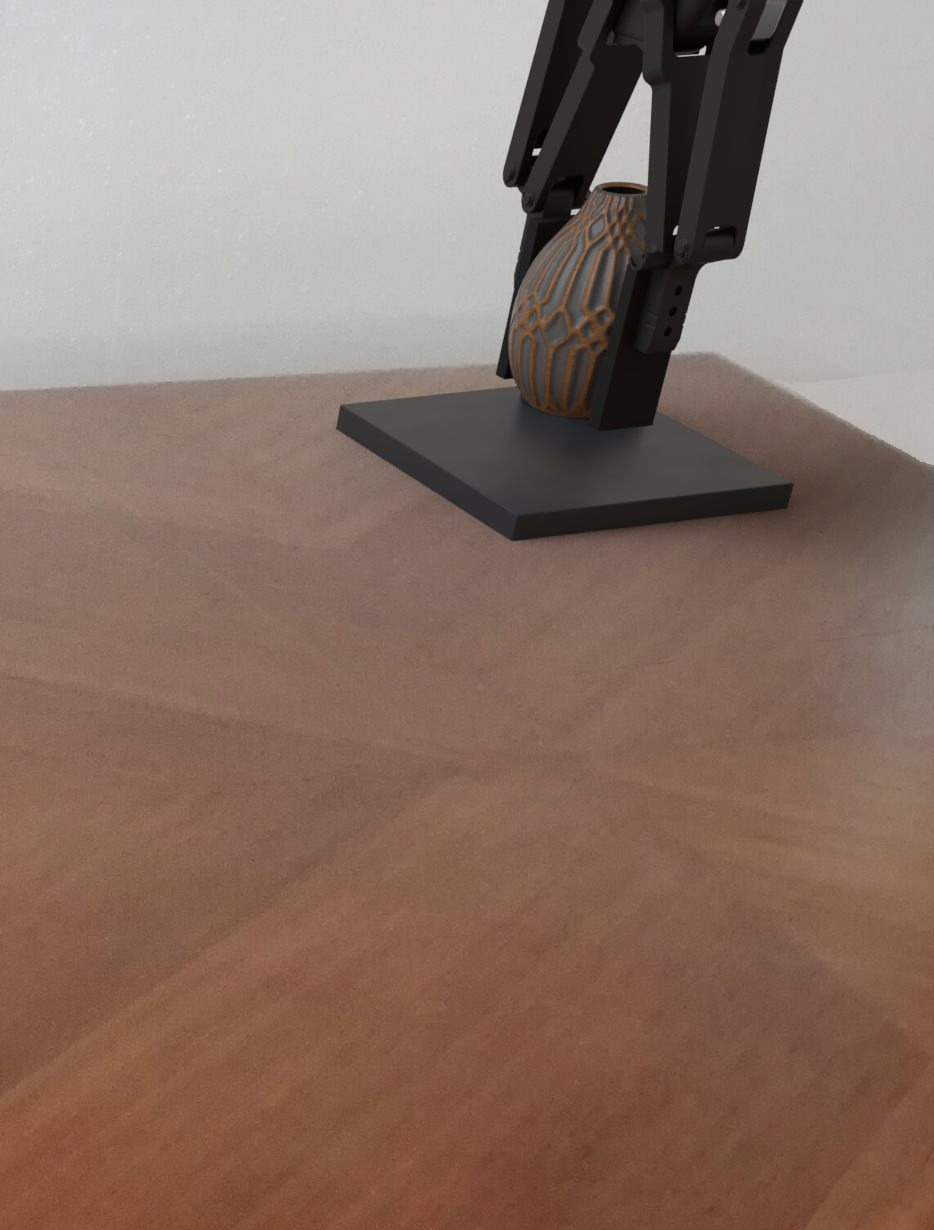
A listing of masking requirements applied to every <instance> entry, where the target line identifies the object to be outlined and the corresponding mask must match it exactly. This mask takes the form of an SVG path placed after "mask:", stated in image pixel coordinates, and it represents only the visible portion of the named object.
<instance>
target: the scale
mask: <svg viewBox="0 0 934 1230" xmlns="http://www.w3.org/2000/svg"><path fill="white" fill-rule="evenodd" d="M589 421H590V418H569V417H562V416H556V415H552V414H548V413H544V412H542V411H539V410H537V409H535V408H533V407H532V406H530V405H529V403H528V402H527V401H526V399H525V398H524V397H523V395H522V393H521V392H520V390H519V389H518V387H517V385H516V386H514V385H513V386H506V387H496V388H485V389H478V390H467V391H457V392H449V393H439V394H429V395H428V394H427V395H420V396H419V395H418V396H411V397H410V396H409V397H400V398H389V399H382V400H371V401H361V402H354V403H353V402H352V403H342V404H340V405H339V411H338V416H337V421H336V427H335V430H337V431H338V432H340V433H342V434H343V435H344V436H346V437H348V438H350V439H351V440H353V441H354V442H356V443H357V444H359V445H360V446H362V447H364V448H365V449H366V450H368V451H370V452H372V454H374V455H376V456H377V457H379V458H380V459H382V460H384V461H385V462H387V463H389V464H390V465H392V466H393V467H395V468H397V469H398V470H399V471H401V472H402V473H404V474H406V475H407V476H409V477H410V478H412V479H413V480H415V481H416V482H418V483H420V484H422V485H423V486H425V487H426V488H428V489H430V490H431V491H432V492H434V493H435V494H437V495H438V496H440V497H441V498H443V499H445V500H446V501H448V502H449V503H451V504H453V505H454V506H456V507H457V508H459V509H461V510H462V511H464V512H465V513H467V514H469V516H471V517H473V518H475V519H476V520H477V521H479V522H481V523H482V524H484V525H486V526H487V527H489V529H492V530H493V531H495V532H496V533H498V534H499V535H501V536H503V537H504V538H506V539H507V540H509V541H510V542H515V541H524V540H532V539H543V538H549V537H557V536H559V537H560V536H566V535H575V534H584V533H585V534H586V533H593V532H600V531H610V530H616V529H624V528H626V529H627V528H635V527H642V526H643V527H644V526H652V525H660V524H661V525H662V524H669V523H676V522H685V521H693V520H701V519H702V520H703V519H709V518H710V519H711V518H718V517H727V516H735V515H736V516H737V515H743V514H745V515H746V514H753V513H754V514H755V513H761V512H770V511H778V510H786V509H788V506H789V502H790V499H791V496H792V492H793V489H794V486H795V482H793V481H791V480H789V479H788V478H785V477H784V476H782V475H780V474H779V473H776V472H774V471H772V470H771V469H768V468H767V467H765V466H763V465H761V464H759V463H757V462H755V461H754V460H752V459H750V458H748V457H746V456H744V455H742V454H741V453H739V452H736V451H734V450H732V449H730V448H729V447H727V446H724V444H720V443H719V442H717V441H715V440H714V439H712V438H709V437H707V436H706V435H704V434H702V433H700V432H698V431H696V430H694V429H692V428H690V427H689V426H686V425H685V424H682V423H681V422H679V421H677V420H675V419H673V418H671V417H669V416H668V415H666V414H663V413H662V412H660V411H658V410H656V414H655V418H654V421H653V425H652V426H643V427H633V428H624V429H615V430H606V431H596V430H595V429H593V428H591V427H589V426H588V425H589Z"/></svg>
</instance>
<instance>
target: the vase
mask: <svg viewBox="0 0 934 1230" xmlns="http://www.w3.org/2000/svg"><path fill="white" fill-rule="evenodd" d="M647 186H648V185H646V184H641V183H638V182H637V183H636V182H629V181H608V182H602V183H600V184H599V183H598V184H597V185H596V186H594V188H593V189H592V190H591V194H590V196H589V197H588V199H587V200H586V202H585V203H584V205H583V206H582V207H581V209H578V212H576V213H575V214H574V215H575V216H574V217H573V218H572V219H571V220H570V221H569V222H568V223H567V224H566V225H565V226H564V227H563V228H562V229H561V230H560V231H559V232H558V233H557V234H556V235H555V236H554V237H553V238H552V239H551V240H550V241H549V242H548V243H547V244H546V245H545V246H544V247H543V249H542V250H541V251H540V252H539V254H538V255H537V256H536V258H535V260H534V261H533V263H532V264H531V266H530V268H529V270H528V272H527V274H526V276H525V278H524V280H523V282H522V284H521V286H520V289H519V291H518V294H517V297H516V300H515V303H514V307H513V311H512V317H511V322H510V329H509V337H508V351H509V362H510V367H511V372H512V376H513V378H514V379H513V380H514V383H515V385H516V386H517V387H518V389H519V390H520V392H521V393H522V395H523V397H524V398H525V399H526V401H527V402H528V403H529V405H530V406H532V407H533V408H535V409H537V410H539V411H542V412H544V413H548V414H552V415H556V416H562V417H569V418H590V417H591V413H592V409H593V404H594V400H595V396H596V392H597V388H598V384H599V380H600V376H601V371H602V367H603V363H604V359H605V355H606V351H607V347H608V343H609V339H610V334H611V330H612V326H613V322H614V318H615V314H616V310H617V306H618V302H619V297H620V293H621V289H622V285H623V281H624V277H625V273H626V269H627V264H629V261H628V257H632V256H637V255H642V254H644V248H645V227H646V207H647Z"/></svg>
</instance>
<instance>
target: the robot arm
mask: <svg viewBox="0 0 934 1230" xmlns="http://www.w3.org/2000/svg"><path fill="white" fill-rule="evenodd" d="M804 1H805V0H548V1H547V4H546V5H547V6H546V9H545V12H544V16H543V20H542V24H541V27H540V31H539V34H538V38H537V43H536V46H535V50H534V54H533V58H532V62H531V64H530V69H529V72H528V75H527V80H526V83H525V87H524V91H523V94H522V98H521V101H520V106H519V109H518V113H517V116H516V121H515V125H514V128H513V131H512V135H511V139H510V143H509V146H508V150H507V153H506V158H505V161H504V164H503V169H502V181H503V184H504V186H505V187H506V188H509V189H510V188H517V190H518V191H519V193H520V194H521V200H520V203H521V208H522V212H524V213H525V214H526V217H525V223H524V227H523V231H522V236H521V240H520V245H519V252H518V254H517V262H516V264H515V268H514V274H513V293H512V297H511V302H510V306H509V310H508V315H507V320H506V325H505V328H504V329H505V330H504V334H503V339H502V343H501V348H500V351H499V357H498V361H497V366H496V370H495V375H496V376H497V377H499V378H500V379H502V380H511V379H512V380H514V378H513V376H512V372H511V367H510V362H509V351H508V337H509V329H510V322H511V317H512V311H513V307H514V303H515V300H516V297H517V294H518V291H519V289H520V286H521V284H522V282H523V280H524V278H525V276H526V274H527V272H528V270H529V268H530V266H531V264H532V263H533V261H534V260H535V258H536V256H537V255H538V254H539V252H540V251H541V250H542V249H543V247H544V246H545V245H546V244H547V243H548V242H549V241H550V240H551V239H552V238H553V237H554V236H555V235H556V234H557V233H558V232H559V231H560V230H561V229H562V228H563V227H564V226H565V225H566V224H567V223H568V222H569V221H570V220H571V219H572V218H573V217H574V216H575V215H576V214H572V211H573V210H580V209H581V207H582V206H583V205H584V203H585V202H586V200H587V199H588V197H589V196H590V194H591V192H592V190H591V189H590V188H591V186H592V184H593V181H594V179H595V177H596V175H597V172H598V170H599V169H600V167H601V164H602V162H603V159H604V157H605V156H606V153H607V151H608V149H609V146H610V144H611V142H612V140H613V137H614V135H615V133H616V131H617V129H618V126H619V125H620V122H621V120H622V117H623V116H624V113H625V110H626V109H627V106H628V104H629V102H630V100H631V97H632V95H633V93H634V91H635V88H636V86H637V84H638V82H639V81H640V77H641V75H642V79H643V81H644V82H645V83H646V84H647V85H649V86H650V88H651V104H650V106H651V107H650V109H651V110H650V124H649V125H650V127H649V145H648V146H649V147H648V148H649V149H648V164H647V165H648V168H647V185H646V186H647V207H646V227H645V248H644V254H642V255H637V256H632V257H628V261H629V264H627V269H626V273H625V277H624V281H623V285H622V289H621V293H620V297H619V302H618V306H617V310H616V314H615V318H614V322H613V326H612V330H611V334H610V339H609V343H608V347H607V351H606V355H605V359H604V363H603V367H602V371H601V376H600V380H599V384H598V388H597V392H596V396H595V400H594V404H593V409H592V413H591V417H590V421H589V425H588V426H589V427H591V428H593V429H595V430H596V431H606V430H615V429H624V428H633V427H643V426H652V425H653V421H654V418H655V414H656V411H658V410H657V409H658V406H659V403H660V398H661V394H662V390H663V386H664V383H665V379H666V375H667V371H668V367H669V363H670V359H671V356H672V352H673V351H675V349H676V348H677V346H678V344H679V342H680V340H681V338H682V333H683V329H684V324H685V322H686V319H687V315H686V314H687V313H688V311H689V307H690V304H691V298H692V295H693V291H694V287H695V284H696V281H697V277H698V275H699V272H700V271H701V270H702V268H703V267H704V266H706V265H707V264H711V263H717V262H722V261H726V260H727V261H729V260H737V258H739V257H740V255H741V254H742V253H743V250H744V247H745V243H746V237H747V233H748V228H749V224H750V218H751V213H752V209H753V203H754V199H755V193H756V188H757V185H758V179H759V174H760V168H761V163H762V159H763V154H764V149H765V144H766V139H767V134H768V131H769V130H768V129H769V126H770V125H769V124H770V119H771V114H772V110H773V105H774V99H775V95H776V90H777V85H778V80H779V76H780V71H781V66H782V60H783V54H784V49H785V48H786V44H787V43H788V40H789V37H790V36H791V32H792V30H793V27H794V25H795V24H796V21H797V18H798V15H799V14H800V11H801V8H802V6H803V4H804ZM704 48H705V52H704V54H700V51H701V50H703V49H704ZM539 149H540V151H539V153H538V154H534V151H535V150H539ZM676 228H677V230H676V234H674V233H675V229H676Z"/></svg>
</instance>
